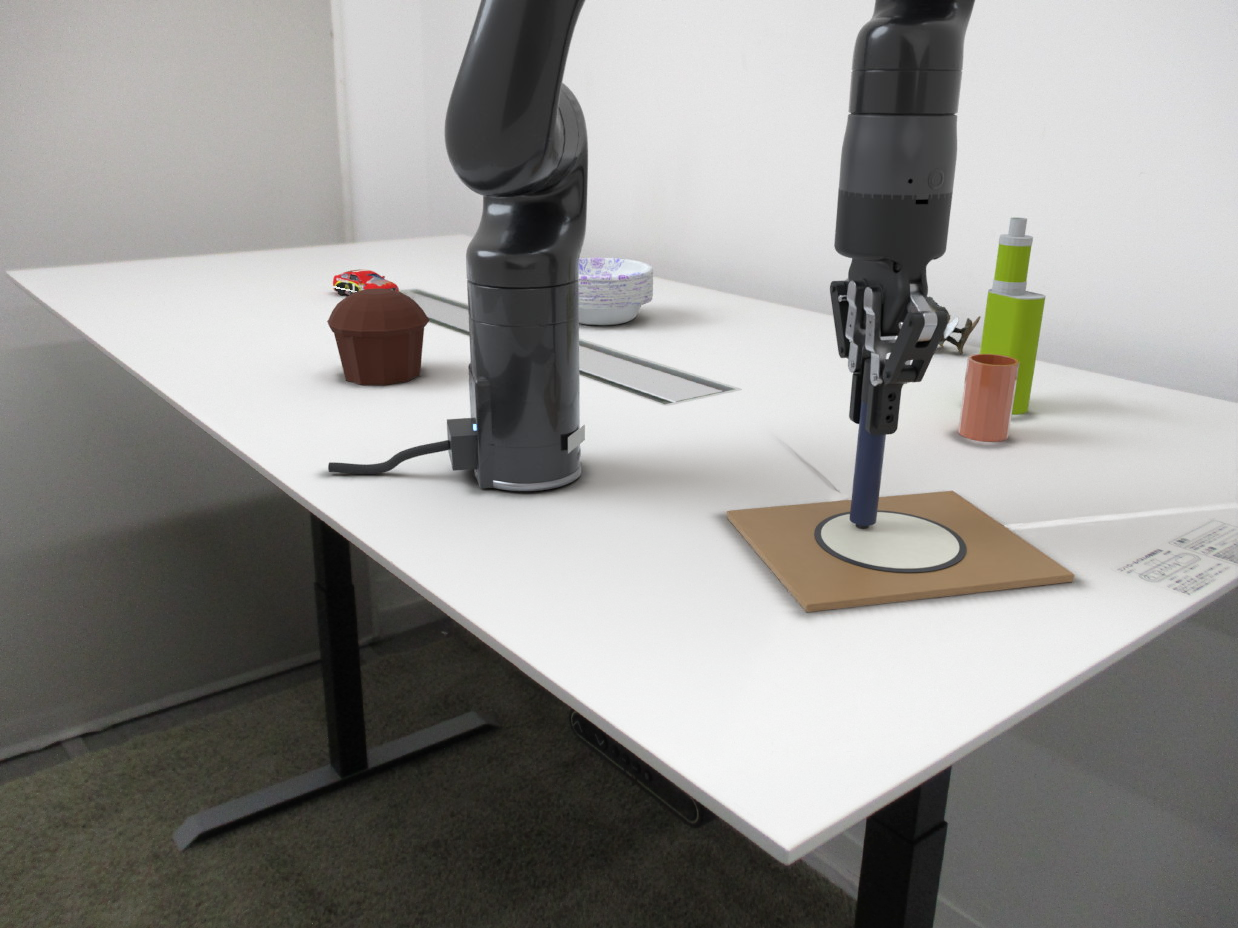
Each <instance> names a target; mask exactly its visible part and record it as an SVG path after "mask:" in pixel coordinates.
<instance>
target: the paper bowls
mask: <svg viewBox="0 0 1238 928" xmlns="http://www.w3.org/2000/svg"><path fill="white" fill-rule="evenodd" d="M653 275H654V268H653V266H652V265H651V264H649V263H647V262H644V261H640V260H636V259H635V260H634V259H627V258H618V257H585V258H579V325H580V324H581V325H587V326H588V325H589V326H613V325H614V326H615V325H621V324H625V323H628V322H631V321H632V320H634V319H635V318H636V317H637V315H638V314H639V312H640V309H641V307H642V306H643V305H646V304H649V303H651V302H652V300H653V297H654V276H653Z"/></svg>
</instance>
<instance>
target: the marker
mask: <svg viewBox="0 0 1238 928" xmlns="http://www.w3.org/2000/svg"><path fill="white" fill-rule="evenodd" d="M887 361H888V358H886V359H885V365H886V363H887ZM870 372H871V358H870V359H866V360H865V364H864V374H863V384H862V394H861V410H860V420H859V424H858V430H857V432H858V433H857V440H856V450H855V461H854V469H853V470H854V471H853V480H852V488H851V489H852V490H851V498H850V500H851V508H850V518H849V519H850V521H851V522H852V523H854V524H856V527H857V528H860V529H867V528H868V527H869V526H870V525H874V524H875V523H876V519H877V510H878V501H879V497H880V492H881V484H882V482H881V481H882V473H883V466H884V465H883V464H884V457H885V448H886V438H887V435H872V434H870V433H869V432H867V431H866V429H865V424H866V414H867V403H868V392H869V384H872V383H871V380H870Z"/></svg>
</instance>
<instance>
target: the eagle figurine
mask: <svg viewBox="0 0 1238 928" xmlns="http://www.w3.org/2000/svg"><path fill="white" fill-rule="evenodd" d="M926 301H927V303H928V305H929V306H930V308H931V310H932V311H934V312H937V311H944V312H945V313H946V314H947V317H948V324H947V327H946V329H945V331H944V333H943V335H942V338H941V340H940V342H939V344H938V346H940V347H941V348H944V344H945V342H948V343H950V344H952V345H953V346H955V347H956V349H957V353H958V354H959V355H960V356H962V355H963V351H964V346H965V345H966V343H967V341H968V339H969V337H970V335H971V334H972V332H973V331H974V329H975V328H976V327H977V325H978V324H979V322H980V319H981V316H980V315H979V316H978V317H976V319H975V320H974V321H973V320H971V318H969V317H967V319H966V321H965V324H964V327H961V328H958V325H959V322H960V318H959V316H956V317H955V318H954V319H953V320H951V314H950V312H949V311H948V309H947V308H946V307H945V306H942V305H939V303H938V302H936V301H935V300H934V298H933V297H931V296H927V298H926ZM950 320H951V321H950ZM954 333H955V334H961V335H960V338H959V340H958V341H957V340H956V338H954V337H953V336H951V334H954Z"/></svg>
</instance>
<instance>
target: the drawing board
mask: <svg viewBox="0 0 1238 928" xmlns="http://www.w3.org/2000/svg"><path fill="white" fill-rule="evenodd" d="M850 508H851V499H843V500H833V501H821V502H810V503H809V502H808V503H799V504H798V503H797V504H788V505H787V504H785V505H778V506H777V505H775V506H766V507H755V508H753V507H752V508H743V509H742V508H741V509H732V510H727V511H726V519H728V521H729V522H730V523H731V524H732V526H733V527H734V528H735V529H736V531H738V533H739V534H740V535H741V537H743V539H744V540H745V541H746V542H747V543H748V545H749V546H750V547H751V548H752V549H753V550H754V552H755V553H756V554H757V556H759V557H760V559H761V560H762V561H763V562H764V564H765V565H766V566H767V567H768V568H769V569H770V571H771V572H772V574H774V575H775V577H776V579H778V580H779V581H780V582H781V584H782V585H783V586H784V587H785V588H786V590H787V591H788V592H789V593H790V595H791V596H792V597H793V598H794V600H795V601H796V602H797V603H798V604H799V605H800V606H801V608H802V609H803V610H804V611H805V613H811V612H819V611H828V610H837V609H845V608H846V609H847V608H854V607H865V606H872V605H881V604H891V603H898V602H907V601H917V600H925V599H934V598H943V597H950V596H952V597H953V596H959V595H968V594H976V593H986V592H995V591H1002V590H1003V591H1004V590H1011V589H1020V588H1021V589H1022V588H1030V587H1038V586H1039V587H1040V586H1046V585H1048V586H1049V585H1055V584H1066V583H1073V582H1074V579H1075V573H1074V572H1072V571H1070V570H1069V569H1068V568H1066V567H1065V566H1063V565H1062V564H1060V563H1059V562H1058V561H1056V560H1054V559H1053V558H1052V557H1050V556H1049V555H1047V554H1046V553H1044V552H1042V551H1041V550H1040V549H1039V548H1037V547H1035V546H1034V545H1032V544H1031V543H1029V542H1028V541H1027V540H1025V539H1023V537H1021V536H1019V535H1018V534H1017V533H1016V532H1014V531H1012V530H1011V529H1009V528H1008V527H1006V526H1005V525H1003V524H1002V523H1000V522H999V521H997V520H996V519H995V518H993V517H992V516H990V515H989V514H987V513H986V512H984V511H983V510H981V509H980V508H979V507H977V506H976V505H974V504H973V503H971V502H970V501H969V500H967V499H965V498H964V497H962V496H961V495H960V494H959V493H957V492H955V491H954V490H945V491H944V490H943V491H933V492H922V493H921V492H920V493H910V494H899V495H889V496H888V495H887V496H879V501H878V510H877V519H876V523H875V524H874V525H870V526H869V527H868V528H867V529H860V528H857V527H856V524H854V523H852V522H851V521H850V519H849V518H850Z"/></svg>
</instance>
